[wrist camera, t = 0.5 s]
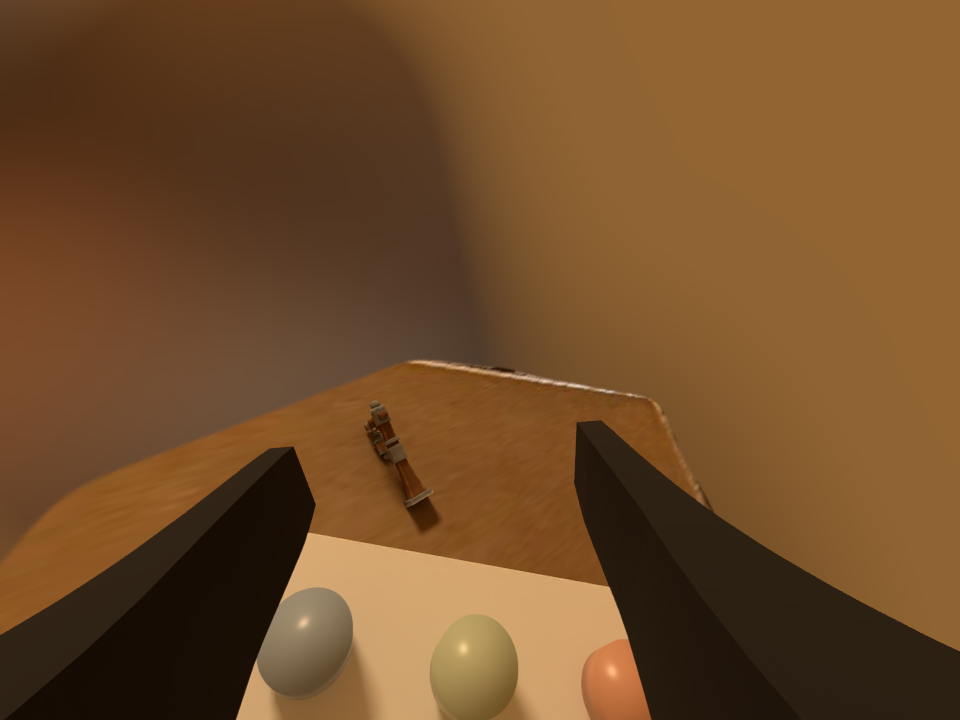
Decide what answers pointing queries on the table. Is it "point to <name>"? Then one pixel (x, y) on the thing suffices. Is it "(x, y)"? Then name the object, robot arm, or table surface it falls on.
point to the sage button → (474, 669)
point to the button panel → (441, 633)
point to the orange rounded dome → (613, 684)
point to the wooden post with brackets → (395, 453)
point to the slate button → (306, 644)
